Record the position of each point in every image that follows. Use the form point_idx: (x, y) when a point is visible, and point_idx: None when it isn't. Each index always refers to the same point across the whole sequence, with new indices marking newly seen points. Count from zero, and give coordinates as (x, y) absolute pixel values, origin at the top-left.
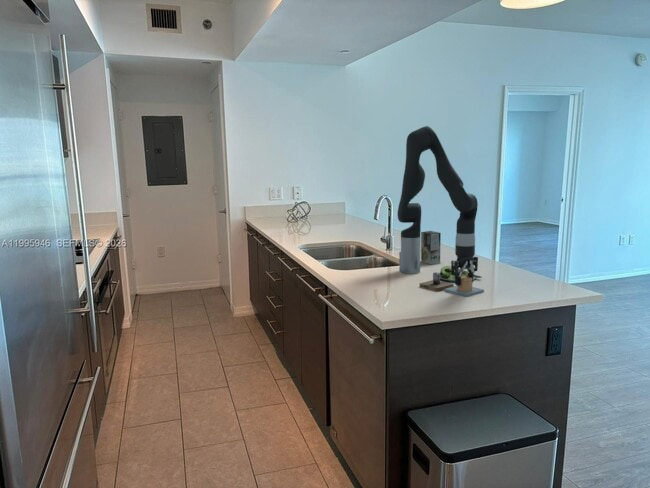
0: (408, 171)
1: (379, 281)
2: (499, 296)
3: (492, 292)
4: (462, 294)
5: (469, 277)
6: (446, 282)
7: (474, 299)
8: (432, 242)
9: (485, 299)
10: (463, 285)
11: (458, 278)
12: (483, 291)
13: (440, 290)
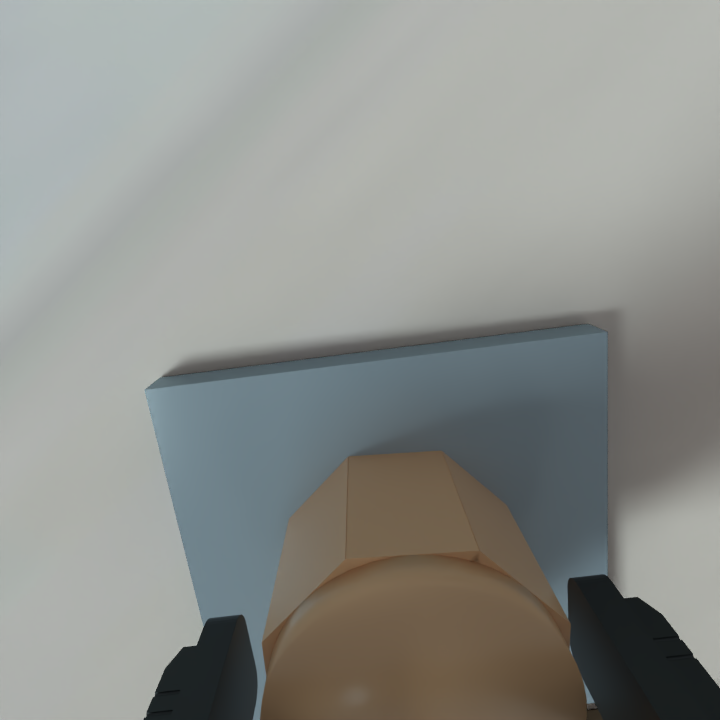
0: None
1: None
2: (112, 39)
3: (54, 289)
4: (601, 403)
5: (302, 705)
6: None
7: (596, 156)
8: None
9: (453, 45)
10: (523, 550)
11: (711, 712)
12: (167, 379)
13: None
